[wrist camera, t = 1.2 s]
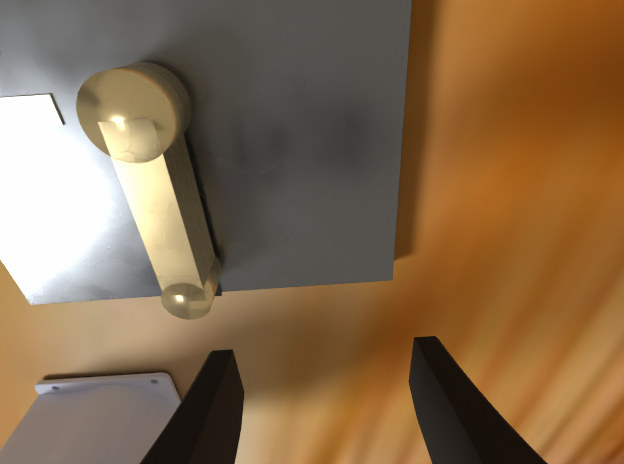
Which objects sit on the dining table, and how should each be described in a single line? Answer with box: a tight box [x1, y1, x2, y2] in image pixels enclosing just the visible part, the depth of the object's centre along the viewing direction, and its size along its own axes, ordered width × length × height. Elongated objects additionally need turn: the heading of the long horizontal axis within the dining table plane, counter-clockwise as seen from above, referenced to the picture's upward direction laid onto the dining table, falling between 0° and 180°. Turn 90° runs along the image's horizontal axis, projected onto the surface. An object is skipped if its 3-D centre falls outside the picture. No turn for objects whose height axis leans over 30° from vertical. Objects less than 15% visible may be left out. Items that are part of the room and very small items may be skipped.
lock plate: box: [0, 0, 412, 305], centre depth 15 cm, size 20×20×2 cm
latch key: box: [76, 62, 222, 319], centre depth 15 cm, size 11×3×2 cm, turn 4°
